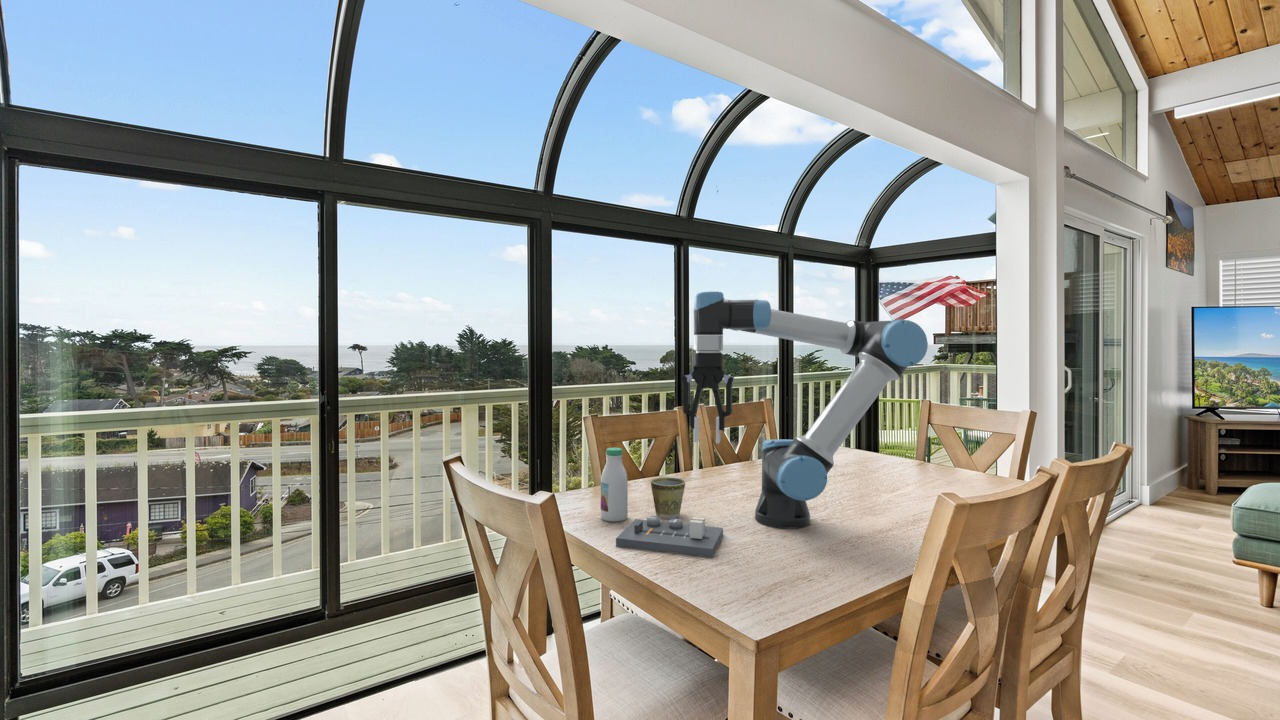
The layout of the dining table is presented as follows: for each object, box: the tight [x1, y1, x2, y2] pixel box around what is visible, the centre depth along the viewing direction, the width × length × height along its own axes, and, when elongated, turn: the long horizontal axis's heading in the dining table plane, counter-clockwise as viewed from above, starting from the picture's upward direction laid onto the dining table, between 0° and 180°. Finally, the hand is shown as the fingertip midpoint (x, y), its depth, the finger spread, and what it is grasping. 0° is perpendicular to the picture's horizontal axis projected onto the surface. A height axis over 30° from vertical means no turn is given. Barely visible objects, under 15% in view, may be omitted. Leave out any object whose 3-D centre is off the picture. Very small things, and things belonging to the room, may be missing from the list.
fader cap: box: [689, 516, 706, 539], centre depth 145 cm, size 3×4×4 cm
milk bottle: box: [600, 447, 629, 523], centre depth 166 cm, size 8×8×20 cm
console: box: [615, 516, 724, 558], centre depth 148 cm, size 24×16×4 cm, turn 73°
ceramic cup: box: [650, 476, 686, 520], centre depth 171 cm, size 13×10×10 cm
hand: (707, 441), depth 151 cm, fingers open, 5 cm apart
